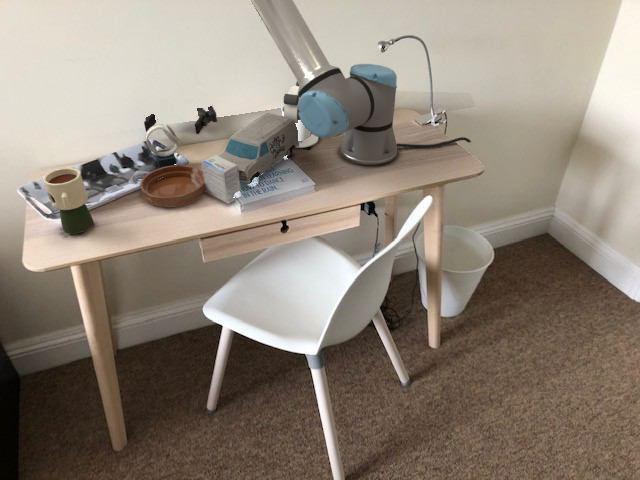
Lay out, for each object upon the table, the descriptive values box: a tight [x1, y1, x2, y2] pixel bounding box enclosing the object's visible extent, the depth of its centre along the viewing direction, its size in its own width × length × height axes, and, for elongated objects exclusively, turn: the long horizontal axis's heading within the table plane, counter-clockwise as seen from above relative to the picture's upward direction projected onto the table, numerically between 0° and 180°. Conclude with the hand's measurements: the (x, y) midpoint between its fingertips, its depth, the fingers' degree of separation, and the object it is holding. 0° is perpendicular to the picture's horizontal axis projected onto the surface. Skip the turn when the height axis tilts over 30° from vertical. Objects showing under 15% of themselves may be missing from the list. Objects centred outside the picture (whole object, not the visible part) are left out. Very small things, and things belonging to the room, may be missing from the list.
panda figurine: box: [283, 80, 319, 149], centre depth 143 cm, size 12×11×15 cm
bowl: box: [139, 164, 207, 208], centre depth 124 cm, size 15×15×3 cm
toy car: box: [218, 112, 299, 185], centre depth 133 cm, size 11×25×10 cm, turn 151°
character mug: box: [42, 167, 95, 235], centre depth 109 cm, size 11×7×13 cm, turn 20°
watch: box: [145, 123, 180, 169], centre depth 132 cm, size 6×8×11 cm
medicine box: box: [201, 154, 242, 205], centre depth 121 cm, size 8×4×9 cm, turn 50°
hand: (171, 128), depth 137 cm, fingers open, 13 cm apart
